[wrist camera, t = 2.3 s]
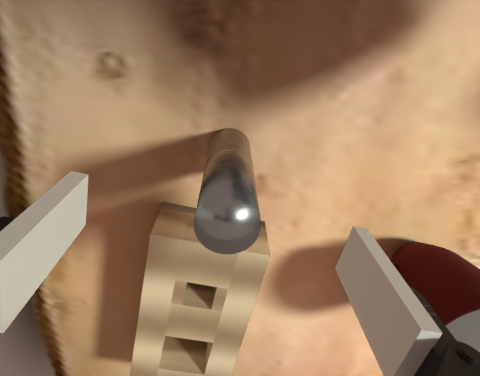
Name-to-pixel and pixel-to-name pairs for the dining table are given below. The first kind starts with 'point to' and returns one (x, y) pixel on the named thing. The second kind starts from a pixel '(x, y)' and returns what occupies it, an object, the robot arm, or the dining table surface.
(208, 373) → the block
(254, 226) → the pin
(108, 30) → the dining table surface
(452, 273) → the mug
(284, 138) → the dining table surface
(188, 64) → the dining table surface
